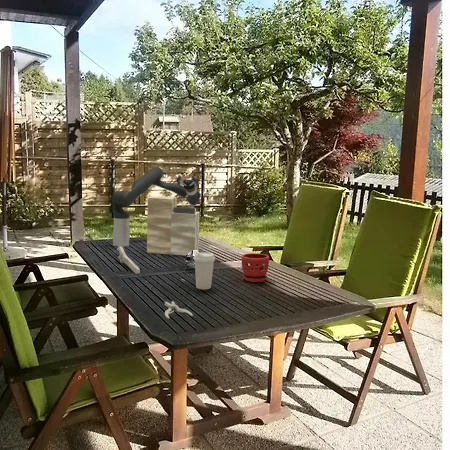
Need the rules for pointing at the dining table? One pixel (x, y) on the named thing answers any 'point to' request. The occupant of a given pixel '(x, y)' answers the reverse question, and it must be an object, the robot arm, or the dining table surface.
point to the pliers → (172, 306)
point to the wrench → (127, 260)
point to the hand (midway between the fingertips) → (185, 176)
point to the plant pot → (255, 267)
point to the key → (185, 210)
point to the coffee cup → (204, 269)
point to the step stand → (170, 228)
